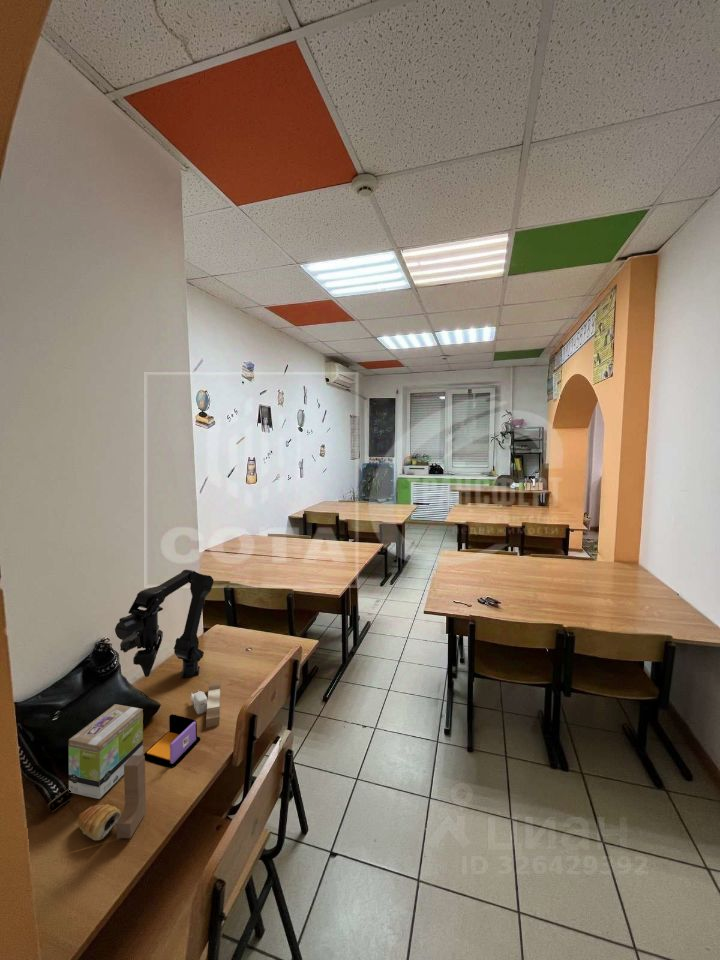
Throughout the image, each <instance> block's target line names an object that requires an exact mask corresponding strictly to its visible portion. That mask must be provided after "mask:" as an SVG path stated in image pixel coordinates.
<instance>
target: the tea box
mask: <svg viewBox="0 0 720 960" xmlns="http://www.w3.org/2000/svg"><path fill="white" fill-rule="evenodd" d="M143 710H144V709H143V708H139V707H134V706H129V705H122V704H117V703H116V704H115V703H114V704H113V705H112V706H111V707H109V708H108V709H107V710H105V711H103V713H102V714H101V715H99V716H98V717H96V718H95V719H94V720H93V721H91V722H90V723H88V724H87V725H85V727H83V728H82V729H81V730H79V731H78V732H77V733H76V734H74V735H73V736H71V737H70V738H69V739H68V791H69V790H70V791H71V792H70V794H71V793H72V794H76V795H80V796H83V797H88V798H93V799H98V800H101V798H102V797H103V796H104V795H105V794H107V792H108V791H109V790H110V789H111V788H112V787H113V786H114V785H115V784H116V783H117V782H118V781H119V780H120V779H121V778H122V777H124V765H125V764H126V762H127V761H128V760H129V758H130V757H131V756H132V755H143V754H144V744H143V743H144V723H143V720H144V712H143Z"/></svg>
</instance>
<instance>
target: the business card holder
mask: <svg viewBox="0 0 720 960" xmlns="http://www.w3.org/2000/svg"><path fill="white" fill-rule="evenodd" d="M168 721H169V723H168V725H169V731H167V733H165V734H164V735H163V736H162V737H161V738H160V739H159V740H158V741H156V742H155V743H154V744H153V745H152V746H151V747H149V748H148V749H147V750H146V751H144V752H143V755H144V756H145V762H146V761H147V762H150V763H152V764H155V765H159V766H162V767H166V768H170V769H174V768H176V767H177V766H178V764H179V763H181V762H182V761H183V760H184V758H185V757H186V756H188V754H189V753H191V751H192V750H193V749H194V748H195V747H196V746H197V745H198V743H200V741H201V737H200V736H198V729H197V728H198V724H197V720H196V719H191V718H189V717H185V716H181V715H177V714H170V715H169V719H168Z"/></svg>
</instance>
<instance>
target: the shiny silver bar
mask: <svg viewBox="0 0 720 960" xmlns="http://www.w3.org/2000/svg"><path fill="white" fill-rule="evenodd" d="M207 689H208V690H207V711H206V715H205V717H206V718H205V727H206V728H212V727H215V726H220V721H221V720H220V719H221V718H220V717H221V716H220V713H221V712H220V711H221V681H215V682H210V683H208V688H207Z"/></svg>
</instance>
